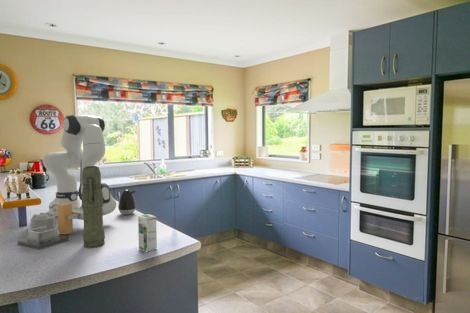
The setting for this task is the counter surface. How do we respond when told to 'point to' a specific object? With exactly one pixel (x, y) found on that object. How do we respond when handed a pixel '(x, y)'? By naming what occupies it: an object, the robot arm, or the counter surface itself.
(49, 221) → the lumpy-topped squat cylinder
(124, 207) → the black kettle
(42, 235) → the grey rail base plate
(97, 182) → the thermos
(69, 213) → the tall orange pillar
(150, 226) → the syrup box
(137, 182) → the counter surface
